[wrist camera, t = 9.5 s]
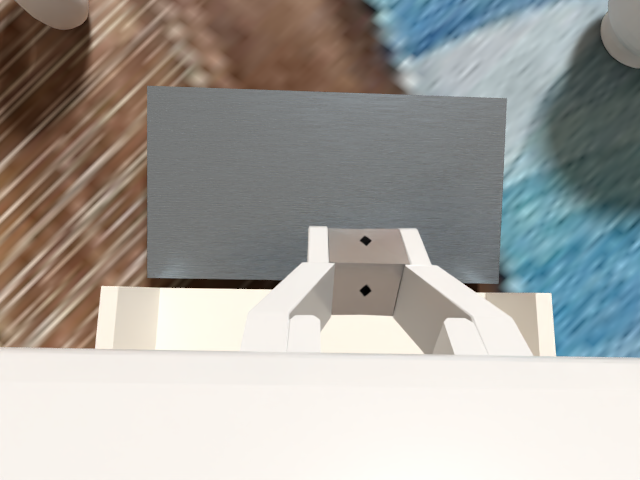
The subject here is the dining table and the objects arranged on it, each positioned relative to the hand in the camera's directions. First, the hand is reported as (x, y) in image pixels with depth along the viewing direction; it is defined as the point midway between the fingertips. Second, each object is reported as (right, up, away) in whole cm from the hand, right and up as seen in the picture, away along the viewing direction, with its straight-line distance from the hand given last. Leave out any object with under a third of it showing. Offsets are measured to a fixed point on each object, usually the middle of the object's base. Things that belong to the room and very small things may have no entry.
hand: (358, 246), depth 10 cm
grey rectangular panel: (-1, -2, +13) cm, 14 cm away
